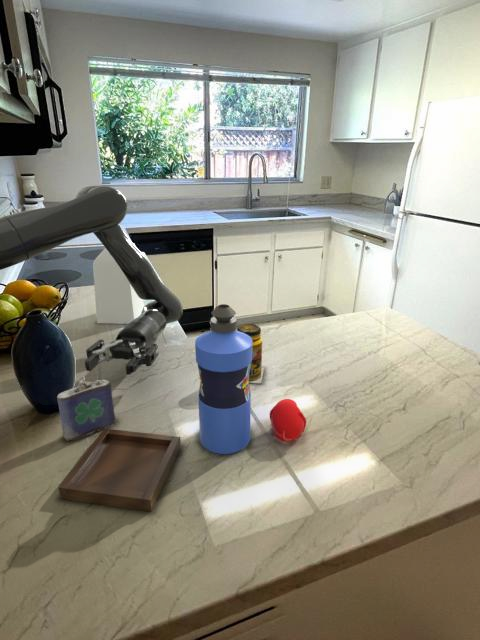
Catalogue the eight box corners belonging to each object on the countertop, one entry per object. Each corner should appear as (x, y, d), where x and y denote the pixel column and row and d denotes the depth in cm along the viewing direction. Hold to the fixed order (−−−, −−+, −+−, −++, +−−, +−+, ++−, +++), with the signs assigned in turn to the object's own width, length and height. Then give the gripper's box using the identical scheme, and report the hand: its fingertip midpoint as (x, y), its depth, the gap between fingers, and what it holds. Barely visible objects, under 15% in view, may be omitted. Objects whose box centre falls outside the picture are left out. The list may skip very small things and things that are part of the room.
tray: (60, 498, 59) (58, 487, 58) (105, 438, 72) (103, 428, 71) (151, 512, 57) (150, 500, 56) (180, 447, 70) (180, 436, 69)
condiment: (261, 384, 89) (262, 334, 85) (223, 380, 91) (223, 332, 86) (264, 368, 96) (265, 322, 92) (229, 365, 97) (229, 319, 93)
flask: (66, 443, 70) (56, 390, 66) (62, 434, 73) (52, 383, 69) (117, 424, 76) (111, 374, 72) (112, 417, 78) (105, 368, 74)
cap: (310, 445, 70) (312, 416, 68) (277, 449, 69) (278, 420, 67) (296, 418, 78) (298, 391, 75) (266, 421, 77) (267, 394, 74)
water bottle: (193, 451, 69) (186, 315, 59) (205, 419, 77) (201, 295, 68) (247, 457, 67) (249, 318, 58) (253, 423, 76) (256, 298, 67)
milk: (110, 309, 133) (101, 230, 124) (144, 310, 133) (138, 230, 123) (97, 323, 122) (85, 237, 112) (134, 323, 122) (126, 237, 112)
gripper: (109, 319, 94) (71, 349, 79) (167, 323, 92) (140, 354, 77) (112, 348, 97) (76, 382, 82) (169, 352, 95) (143, 388, 80)
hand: (107, 368), depth 79 cm, fingers open, 8 cm apart
